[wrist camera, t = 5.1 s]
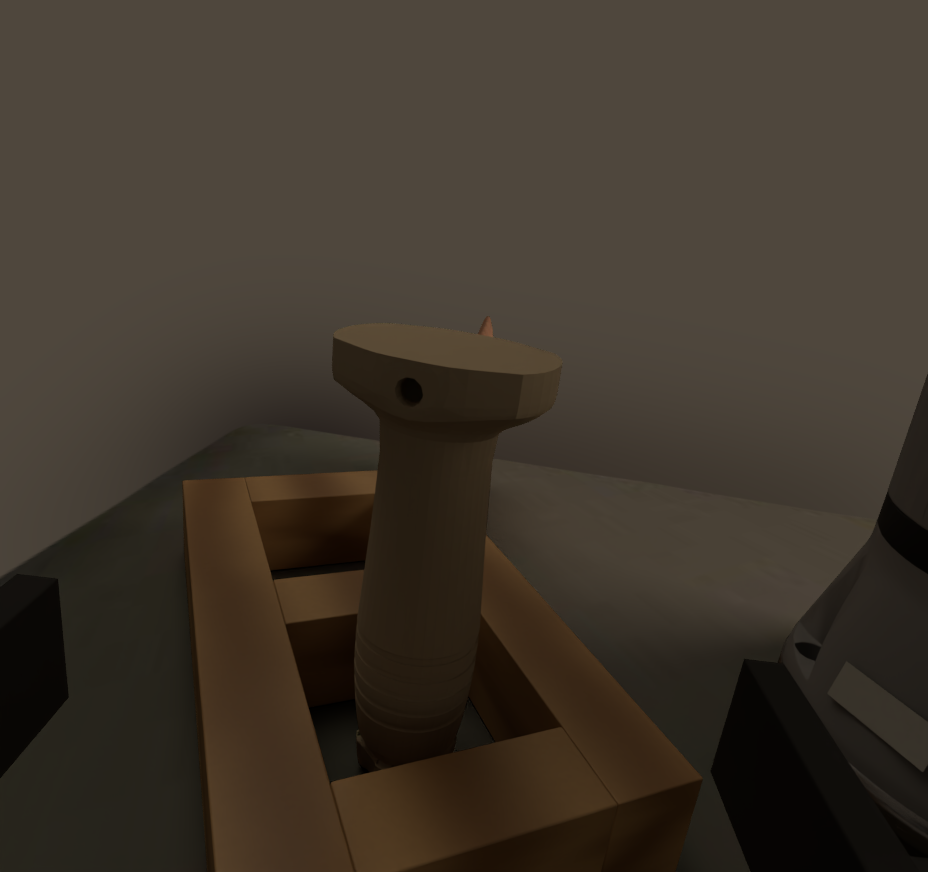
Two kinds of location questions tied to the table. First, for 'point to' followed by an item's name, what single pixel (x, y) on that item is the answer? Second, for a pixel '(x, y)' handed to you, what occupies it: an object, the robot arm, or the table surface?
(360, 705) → the handle
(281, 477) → the rack
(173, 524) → the table surface
